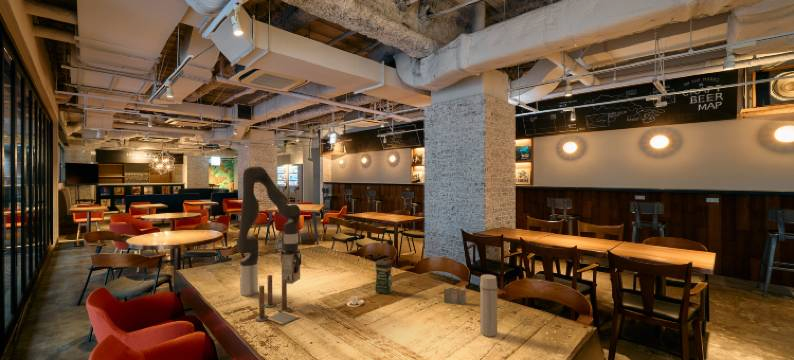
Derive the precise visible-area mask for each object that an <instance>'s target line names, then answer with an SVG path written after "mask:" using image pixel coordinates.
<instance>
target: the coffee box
mask: <svg viewBox="0 0 794 360" xmlns="http://www.w3.org/2000/svg"><path fill="white" fill-rule="evenodd" d="M297 254H301V250H299V249H298V250H297ZM294 260H296V256H295V257H294V253H290V252H284V253H282V254H281V253H280V262H281V280H282V279H287V284H288V285H292V284H294V283H296V282H297V281H299V280H301V265H299V266H298V273H294ZM298 263H299V261H298ZM295 264H296V262H295Z"/></svg>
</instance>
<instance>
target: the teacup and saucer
mask: <svg viewBox="0 0 794 360" xmlns="http://www.w3.org/2000/svg"><path fill="white" fill-rule="evenodd" d="M364 303H365V301H364V300H361V299H360V300H358V296H356V295H353V296H350V297H349V301H348V302H347V303H346V305H347V307H354V308H355V307H359V306H362V305H363V304H364ZM350 304H352V305H350Z"/></svg>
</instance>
